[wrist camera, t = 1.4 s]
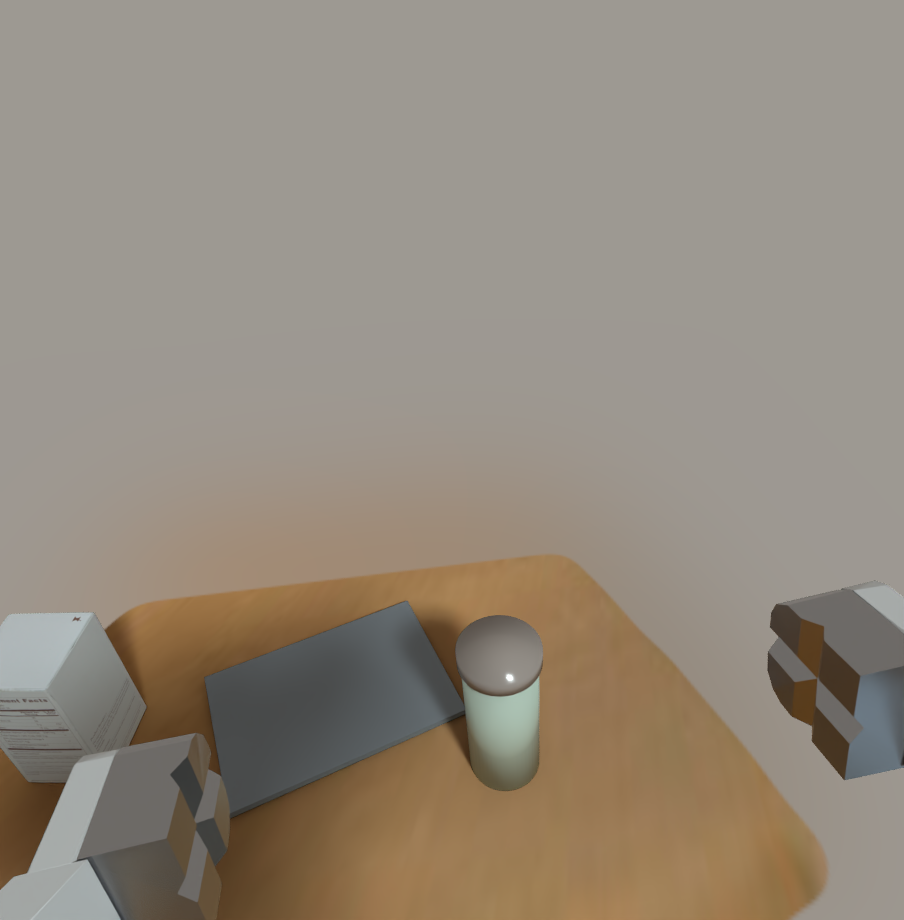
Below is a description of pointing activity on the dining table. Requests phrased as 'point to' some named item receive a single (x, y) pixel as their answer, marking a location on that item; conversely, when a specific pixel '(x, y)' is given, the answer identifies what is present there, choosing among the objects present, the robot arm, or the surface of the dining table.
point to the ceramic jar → (501, 699)
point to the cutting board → (326, 704)
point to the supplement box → (62, 693)
